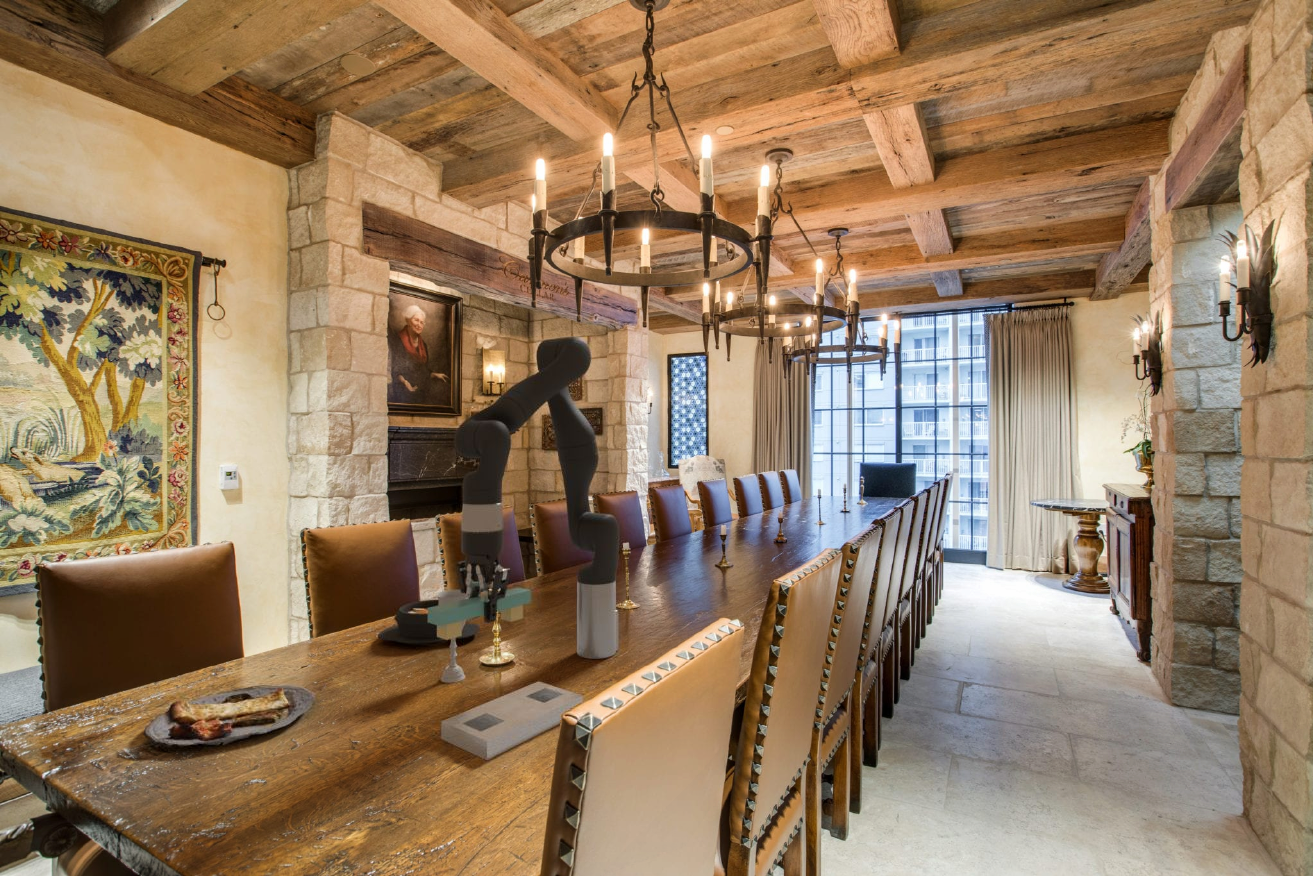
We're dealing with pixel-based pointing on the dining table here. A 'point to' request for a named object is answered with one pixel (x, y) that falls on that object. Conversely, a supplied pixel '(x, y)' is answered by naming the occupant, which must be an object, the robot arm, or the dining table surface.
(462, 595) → the chalice
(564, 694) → the plate
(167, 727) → the food plate
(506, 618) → the strip bar
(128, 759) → the dining table surface
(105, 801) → the dining table surface
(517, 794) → the dining table surface
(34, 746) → the dining table surface
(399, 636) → the casserole
